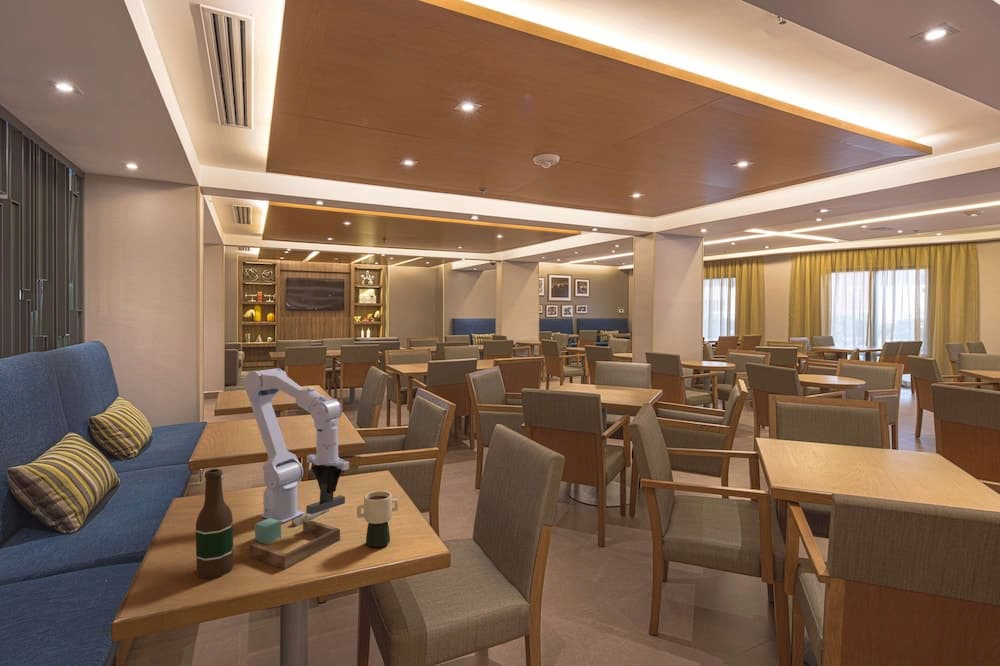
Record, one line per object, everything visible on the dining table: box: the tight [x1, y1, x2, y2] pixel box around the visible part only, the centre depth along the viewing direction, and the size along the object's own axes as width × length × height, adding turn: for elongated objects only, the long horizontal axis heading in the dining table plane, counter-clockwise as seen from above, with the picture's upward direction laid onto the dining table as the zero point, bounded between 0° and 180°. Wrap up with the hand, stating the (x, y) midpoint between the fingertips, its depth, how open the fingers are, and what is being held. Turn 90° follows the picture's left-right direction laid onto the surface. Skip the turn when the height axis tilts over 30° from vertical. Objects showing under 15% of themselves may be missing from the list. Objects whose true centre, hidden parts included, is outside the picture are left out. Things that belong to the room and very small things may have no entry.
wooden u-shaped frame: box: [249, 519, 341, 570], centre depth 132 cm, size 13×17×3 cm
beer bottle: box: [195, 468, 234, 580], centre depth 119 cm, size 8×8×24 cm
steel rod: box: [291, 509, 330, 527], centre depth 150 cm, size 12×2×2 cm, turn 152°
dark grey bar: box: [305, 482, 346, 514], centre depth 143 cm, size 2×12×7 cm, turn 151°
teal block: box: [254, 518, 282, 545], centre depth 137 cm, size 4×4×4 cm
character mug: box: [356, 490, 399, 548], centre depth 134 cm, size 11×7×13 cm, turn 119°
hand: (327, 491), depth 143 cm, fingers closed on dark grey bar, 2 cm apart
